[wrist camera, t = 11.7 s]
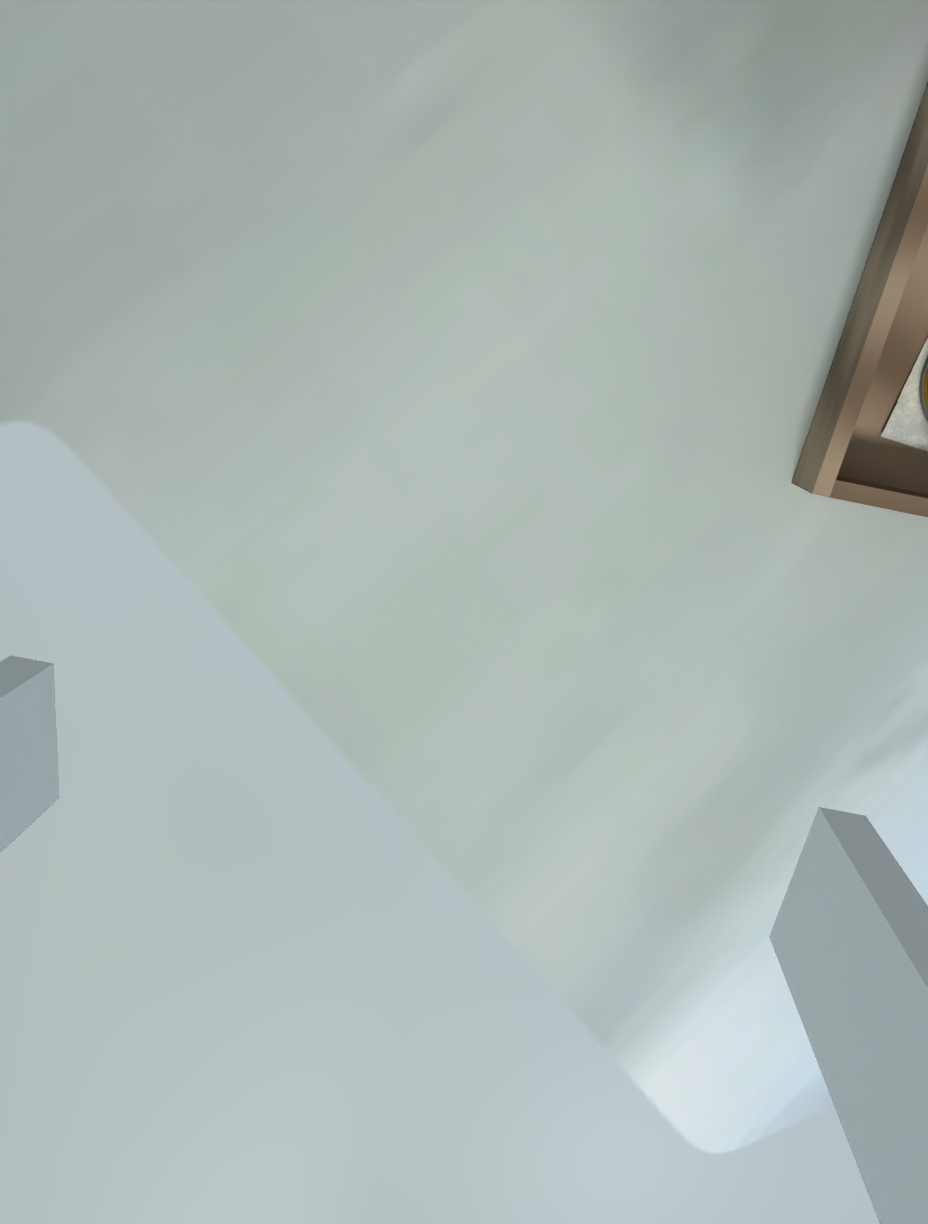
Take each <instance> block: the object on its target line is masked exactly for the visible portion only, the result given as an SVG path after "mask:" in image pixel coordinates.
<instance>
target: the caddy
mask: <svg viewBox="0 0 928 1224" xmlns="http://www.w3.org/2000/svg"><path fill="white" fill-rule="evenodd" d="M927 338H928V84H927V87H926V90H925V93H924V96H923V99H922V102H921V104H920V107H919V110H918V113H917V116H916V119H915V122H914V125H913V128H912V131H911V134H910V137H909V140H908V143H907V146H906V148H905V151H904V154H903V157H902V160H901V163H900V166H899V169H898V172H897V175H896V178H895V181H894V184H893V187H892V190H891V193H890V195H889V198H888V201H887V204H886V207H885V210H884V213H883V216H882V219H881V222H880V225H879V228H878V231H877V234H876V237H875V240H874V242H873V245H872V248H871V251H870V254H869V257H868V260H867V263H866V266H865V269H864V272H863V275H862V278H861V281H860V284H859V287H858V289H857V292H856V295H855V298H854V301H853V304H852V307H851V310H850V313H849V316H848V319H847V322H846V325H845V328H844V331H843V334H842V336H841V339H840V342H839V345H838V348H837V351H836V354H835V357H834V360H833V363H832V366H831V369H830V372H829V375H828V378H827V380H826V383H825V386H824V389H823V392H822V395H821V398H820V401H819V404H818V407H817V410H816V413H815V416H814V419H813V422H812V425H811V427H810V430H809V433H808V436H807V439H806V442H805V445H804V448H803V451H802V454H801V457H800V460H799V463H798V466H797V469H796V472H795V474H794V477H793V480H792V483H793V484H794V485H796V486H798V487H800V488H802V489H804V490H806V491H808V492H810V493H812V494H816V495H821V496H826V497H831V498H836V499H841V500H846V501H851V502H856V503H861V504H866V505H870V506H875V507H880V508H885V509H890V510H895V511H900V512H905V513H910V514H915V515H920V516H924V517H928V451H925V450H922V449H919V448H915V447H912V446H909V445H906V444H903V443H900V442H897V441H894V440H890V439H887V438H884V437H881V435H882V433H883V431H884V429H885V427H886V425H887V423H888V421H889V419H890V416H891V414H892V412H893V410H894V408H895V406H896V405H897V401H898V399H899V397H900V395H901V392H902V390H903V388H904V386H905V384H906V381H907V379H908V377H909V376H910V374H911V371H912V369H913V367H914V365H915V363H916V361H917V359H918V356H919V354H920V352H921V350H922V348H923V346H924V344H925V342H926V340H927Z"/></svg>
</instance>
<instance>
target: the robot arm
mask: <svg viewBox="0 0 928 1224" xmlns="http://www.w3.org/2000/svg"><path fill="white" fill-rule="evenodd" d="M58 799H59V779H58V756H57V734H56V712H55V689H54V666H53V664H52V663H47V662H42V661H37V660H31V659H26V658H21V657H15V656H9V657H8V658H6V659H4V660H2V661H1V662H0V853H1V852H2V851H3V850H4V849H5V848H6V847H7V846H9V845H10V844H11V843H12V842H13V841H14V840H15V839H16V838H17V837H18V836H19V835H20V834H21V833H22V832H23V831H25V830H26V829H27V828H28V827H29V826H30V825H31V824H32V823H33V822H34V821H35V820H36V819H37V818H39V817H40V816H41V815H42V814H43V813H44V812H45V811H46V810H47V809H48V808H49V807H50V806H51V805H52V804H54V803H55V802H56V801H57V800H58ZM769 937H770V940H771V942H772V945H773V947H774V950H775V953H776V955H777V958H778V960H779V963H780V966H781V968H782V971H783V973H784V976H785V979H786V981H787V984H788V986H789V989H790V992H791V994H792V997H793V999H794V1002H795V1005H796V1007H797V1010H798V1012H799V1015H800V1018H801V1020H802V1023H803V1025H804V1028H805V1031H806V1033H807V1036H808V1038H809V1041H810V1044H811V1046H812V1049H813V1051H814V1054H815V1057H816V1059H817V1062H818V1064H819V1067H820V1070H821V1072H822V1075H823V1077H824V1080H825V1083H826V1085H827V1088H828V1090H829V1093H830V1096H831V1098H832V1101H833V1103H834V1106H835V1109H836V1111H837V1114H838V1116H839V1119H840V1122H841V1124H842V1127H843V1129H844V1132H845V1135H846V1137H847V1140H848V1142H849V1145H850V1148H851V1150H852V1153H853V1155H854V1158H855V1160H856V1163H857V1166H858V1168H859V1171H860V1173H861V1176H862V1179H863V1181H864V1184H865V1187H866V1189H867V1192H868V1194H869V1197H870V1199H871V1202H872V1205H873V1207H874V1210H875V1213H876V1215H877V1218H878V1220H879V1223H880V1224H928V906H927V904H926V903H925V902H924V900H923V899H922V897H921V896H920V894H919V893H918V891H917V890H916V888H915V887H914V886H913V884H912V883H911V881H910V880H909V878H908V877H907V875H906V874H905V872H904V871H903V870H902V868H901V867H900V865H899V864H898V862H897V861H896V859H895V858H894V857H893V855H892V854H891V852H890V851H889V849H888V848H887V846H886V845H885V843H884V842H883V841H882V839H881V838H880V836H879V835H878V833H877V832H876V830H875V829H874V827H873V826H872V825H871V823H870V822H869V820H868V819H867V817H866V816H863V815H858V814H853V813H847V812H842V811H837V810H831V809H826V808H821V807H819V808H818V811H817V813H816V816H815V818H814V821H813V824H812V826H811V829H810V832H809V834H808V837H807V839H806V842H805V845H804V847H803V850H802V853H801V855H800V858H799V860H798V863H797V866H796V868H795V871H794V873H793V876H792V879H791V881H790V884H789V887H788V889H787V892H786V894H785V897H784V900H783V902H782V905H781V908H780V910H779V913H778V915H777V918H776V921H775V923H774V926H773V928H772V931H771V934H770V936H769Z"/></svg>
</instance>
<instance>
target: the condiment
mask: <svg viewBox="0 0 928 1224" xmlns="http://www.w3.org/2000/svg"><path fill="white" fill-rule="evenodd" d="M881 437H884V438H887V439H890V440H894V441H897V442H900V443H903V444H906V445H909V446H912V447H915V448H919V449H922V450H925V451H928V338H927V340H926V342H925V344H924V346H923V348H922V350H921V352H920V354H919V356H918V359H917V361H916V363H915V365H914V367H913V369H912V371H911V374H910V376H909V377H908V379H907V381H906V384H905V386H904V388H903V390H902V392H901V395H900V397H899V399H898V401H897V405H896V406H895V408H894V410H893V412H892V414H891V416H890V419H889V421H888V423H887V425H886V427H885V429H884V431H883V433H882V435H881Z"/></svg>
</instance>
